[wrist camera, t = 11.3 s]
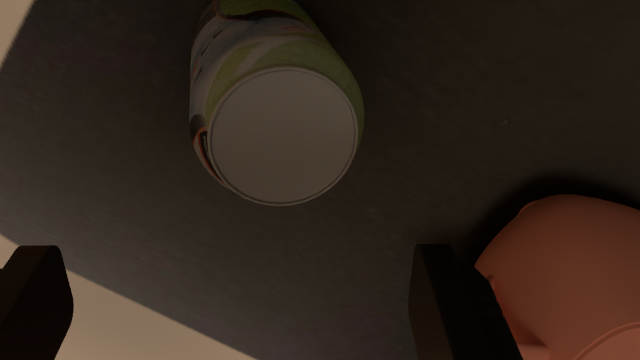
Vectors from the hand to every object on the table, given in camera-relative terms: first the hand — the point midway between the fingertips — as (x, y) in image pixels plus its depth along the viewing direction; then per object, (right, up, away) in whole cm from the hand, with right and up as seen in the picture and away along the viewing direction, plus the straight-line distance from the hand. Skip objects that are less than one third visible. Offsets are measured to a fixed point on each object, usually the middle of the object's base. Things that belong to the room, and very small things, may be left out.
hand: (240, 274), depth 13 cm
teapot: (+17, -3, +24) cm, 30 cm away
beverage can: (-1, +9, +16) cm, 18 cm away
